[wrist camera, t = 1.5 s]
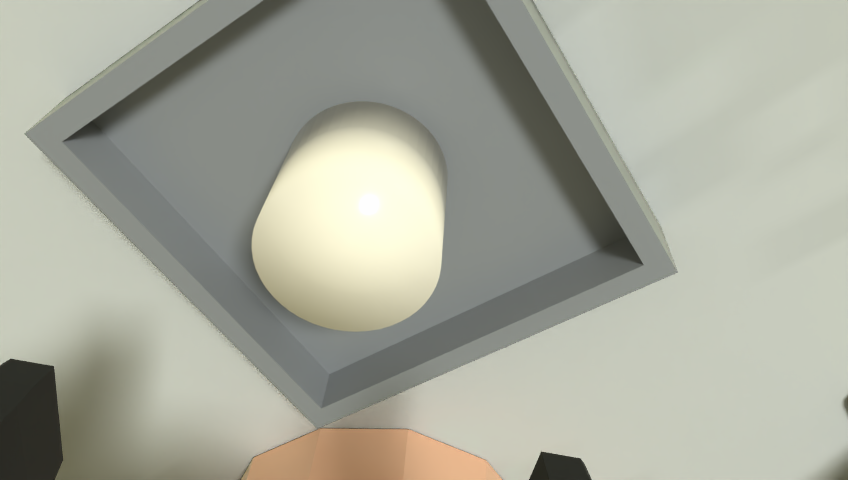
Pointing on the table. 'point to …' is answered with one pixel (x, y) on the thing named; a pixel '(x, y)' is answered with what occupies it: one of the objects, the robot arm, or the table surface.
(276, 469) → the bowl
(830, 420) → the table surface
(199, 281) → the tray
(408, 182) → the cream round lump
